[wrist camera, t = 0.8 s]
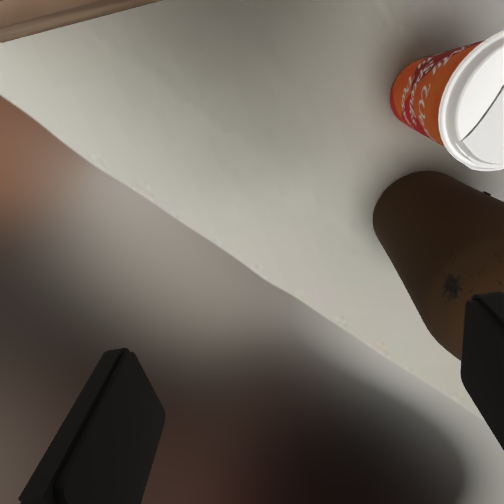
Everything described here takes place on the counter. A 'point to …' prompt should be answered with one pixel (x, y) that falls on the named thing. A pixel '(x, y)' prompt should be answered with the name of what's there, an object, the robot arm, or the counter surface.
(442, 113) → the paper cup
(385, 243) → the olive oil
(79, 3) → the box
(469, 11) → the counter surface
